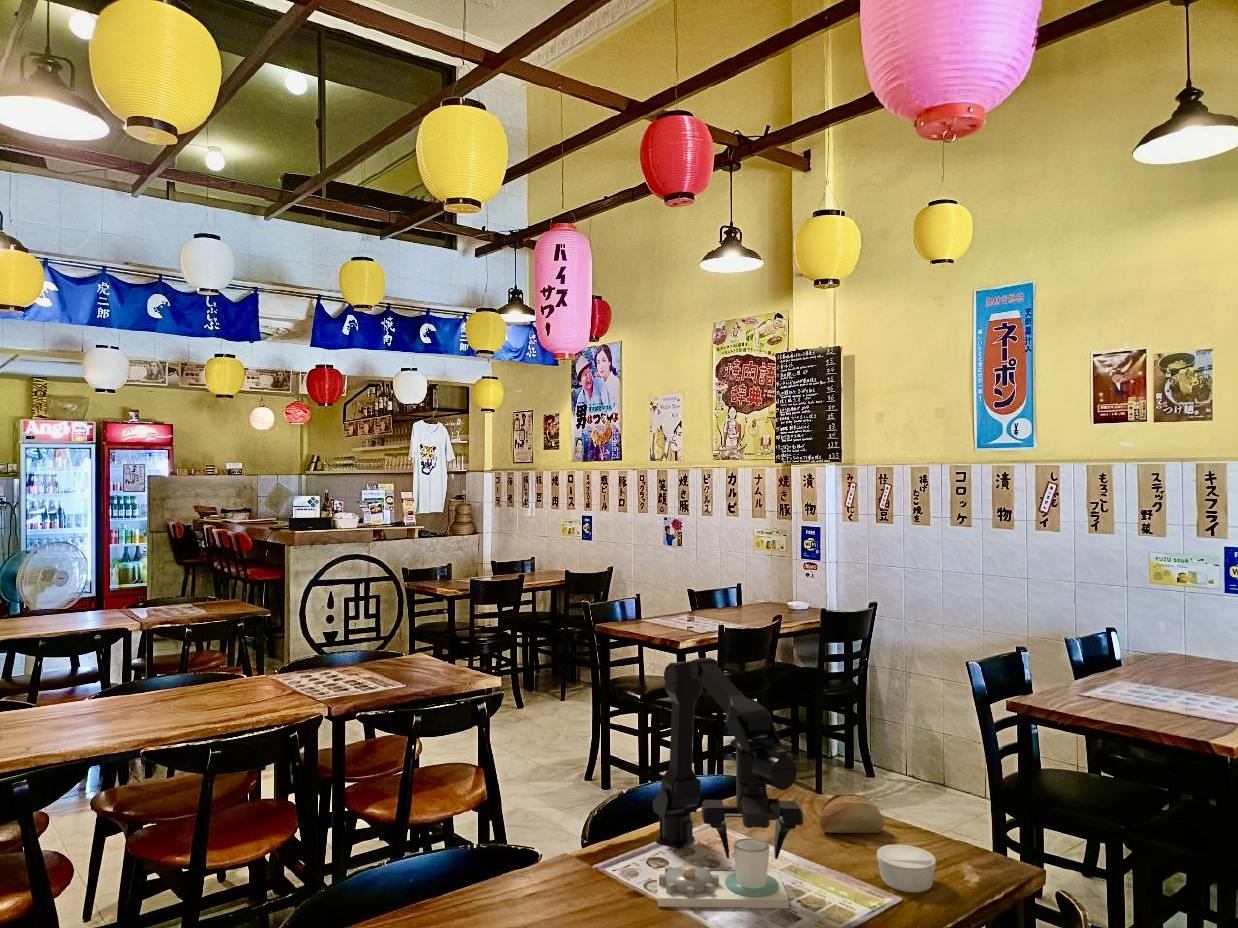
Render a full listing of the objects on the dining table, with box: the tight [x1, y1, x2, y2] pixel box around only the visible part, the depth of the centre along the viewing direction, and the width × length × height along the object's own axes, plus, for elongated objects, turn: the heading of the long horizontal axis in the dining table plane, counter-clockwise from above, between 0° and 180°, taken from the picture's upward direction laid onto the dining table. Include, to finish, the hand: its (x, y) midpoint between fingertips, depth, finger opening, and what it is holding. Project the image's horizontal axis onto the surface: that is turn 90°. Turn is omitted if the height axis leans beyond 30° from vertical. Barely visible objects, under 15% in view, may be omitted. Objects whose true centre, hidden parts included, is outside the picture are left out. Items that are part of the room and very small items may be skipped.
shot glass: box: [732, 837, 770, 889], centre depth 159 cm, size 7×7×7 cm
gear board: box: [656, 863, 790, 909], centre depth 159 cm, size 24×12×4 cm, turn 89°
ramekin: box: [876, 844, 937, 893], centre depth 164 cm, size 11×11×5 cm
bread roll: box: [819, 792, 885, 834], centre depth 190 cm, size 10×15×8 cm, turn 98°
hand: (751, 857), depth 159 cm, fingers open, 9 cm apart
